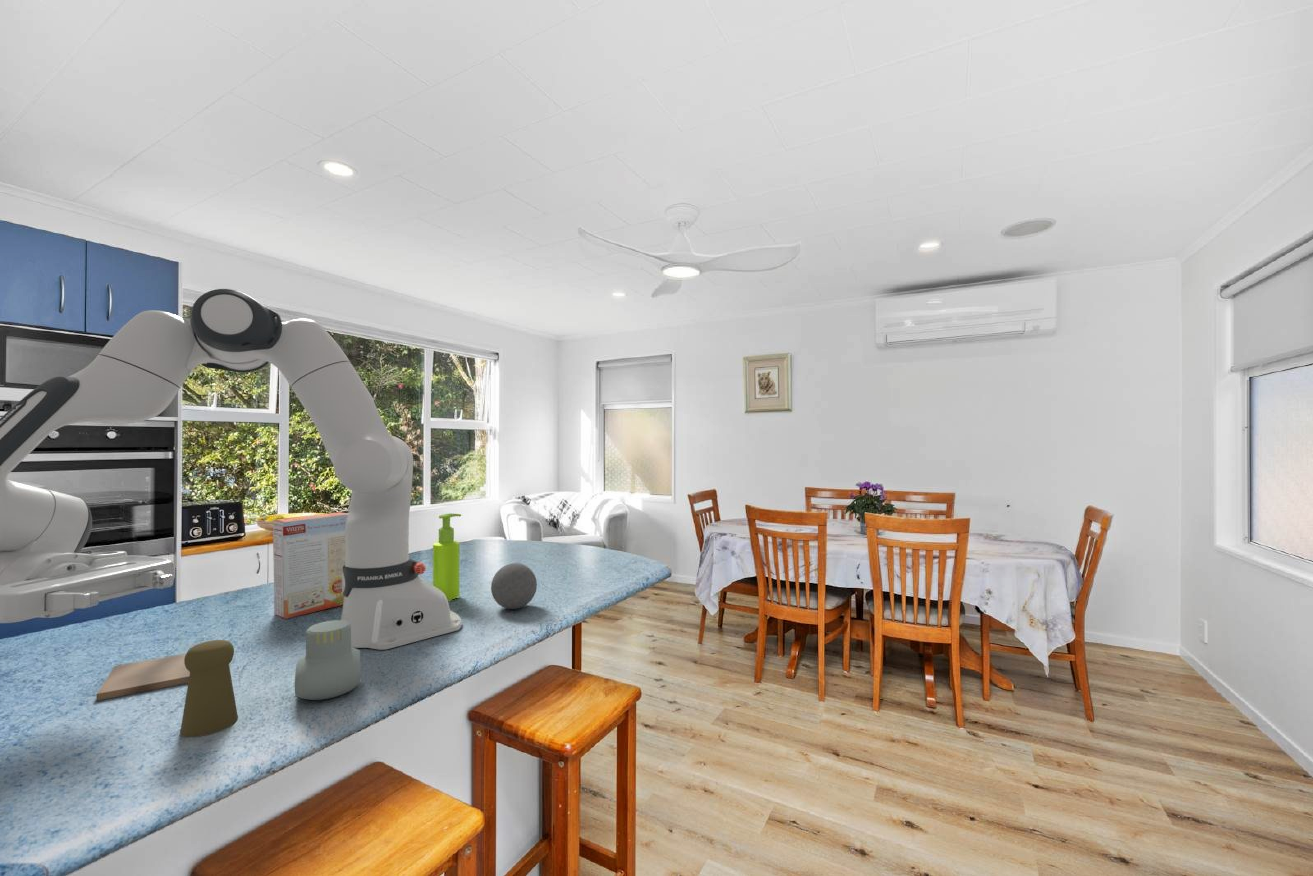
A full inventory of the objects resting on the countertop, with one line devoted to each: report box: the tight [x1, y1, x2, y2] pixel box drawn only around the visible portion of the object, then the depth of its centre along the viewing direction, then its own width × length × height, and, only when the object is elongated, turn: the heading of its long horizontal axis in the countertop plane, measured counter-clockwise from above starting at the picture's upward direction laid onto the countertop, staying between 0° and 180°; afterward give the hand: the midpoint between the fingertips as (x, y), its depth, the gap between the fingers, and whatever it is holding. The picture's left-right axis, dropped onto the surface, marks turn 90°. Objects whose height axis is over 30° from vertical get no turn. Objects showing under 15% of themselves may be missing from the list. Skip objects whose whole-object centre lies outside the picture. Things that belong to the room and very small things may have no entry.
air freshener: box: [294, 619, 361, 701], centre depth 84 cm, size 11×8×10 cm
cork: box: [179, 639, 239, 738], centre depth 74 cm, size 6×6×11 cm
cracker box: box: [272, 511, 348, 620], centre depth 124 cm, size 14×6×21 cm, turn 144°
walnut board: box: [96, 653, 190, 701], centre depth 89 cm, size 12×12×1 cm
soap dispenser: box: [432, 513, 462, 601], centre depth 133 cm, size 6×7×20 cm
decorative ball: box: [490, 562, 538, 610], centre depth 125 cm, size 10×10×10 cm
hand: (132, 590), depth 76 cm, fingers open, 8 cm apart
